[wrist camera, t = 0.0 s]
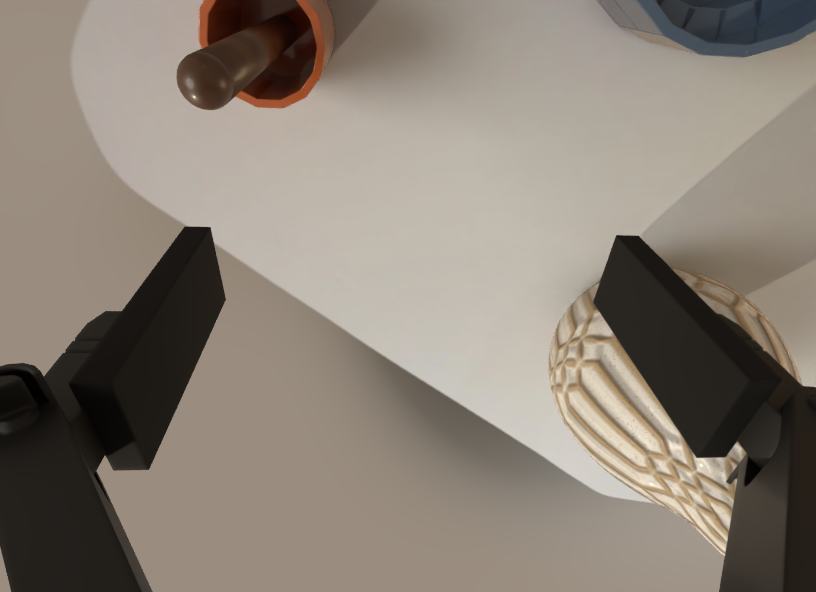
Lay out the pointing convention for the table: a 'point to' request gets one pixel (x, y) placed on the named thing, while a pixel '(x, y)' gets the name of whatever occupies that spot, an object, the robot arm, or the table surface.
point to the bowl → (716, 23)
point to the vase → (648, 410)
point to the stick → (233, 62)
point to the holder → (295, 68)
